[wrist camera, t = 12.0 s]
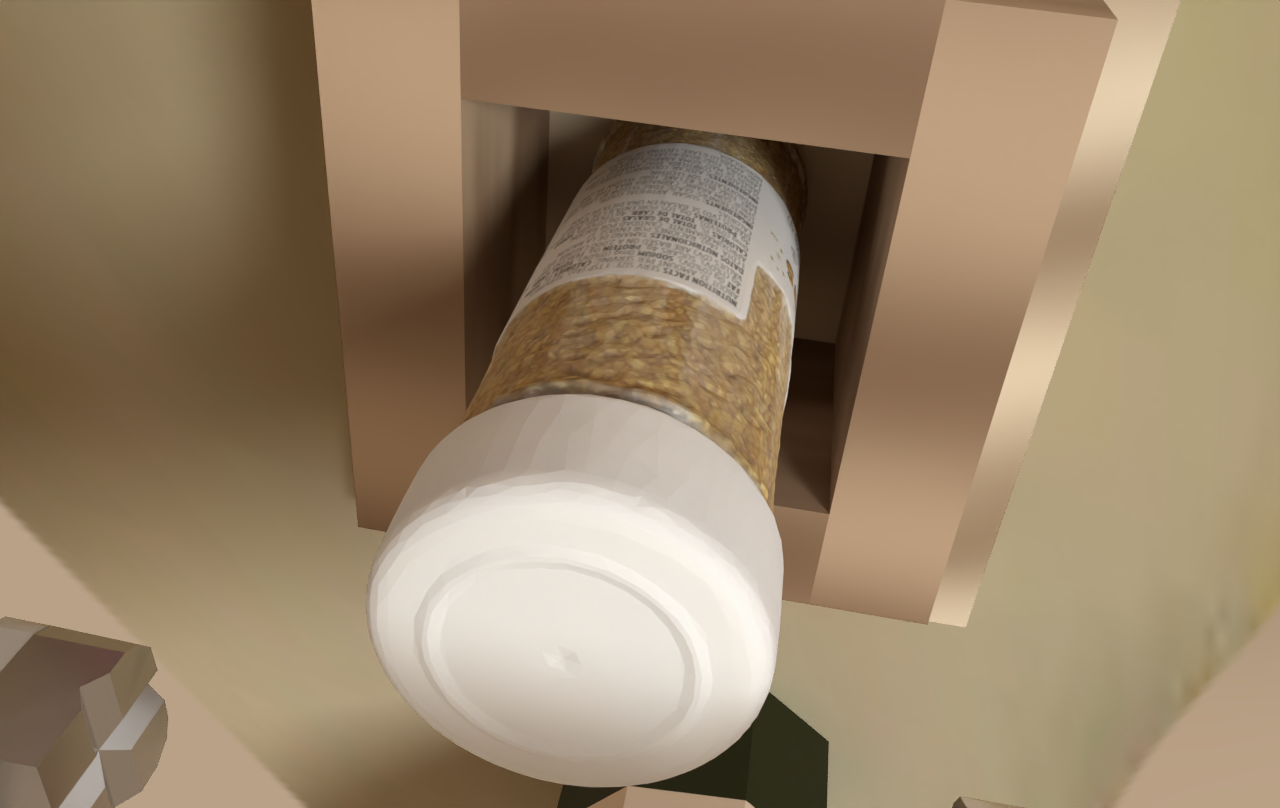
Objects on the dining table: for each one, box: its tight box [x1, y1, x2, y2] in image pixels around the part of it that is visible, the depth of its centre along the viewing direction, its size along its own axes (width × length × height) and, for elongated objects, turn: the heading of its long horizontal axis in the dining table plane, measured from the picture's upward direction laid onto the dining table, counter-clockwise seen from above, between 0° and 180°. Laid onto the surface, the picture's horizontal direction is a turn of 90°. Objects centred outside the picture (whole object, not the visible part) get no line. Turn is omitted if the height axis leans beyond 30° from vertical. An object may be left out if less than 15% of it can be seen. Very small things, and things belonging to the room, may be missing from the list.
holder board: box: [311, 0, 1181, 627], centre depth 21 cm, size 22×16×8 cm
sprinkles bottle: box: [366, 120, 808, 787], centre depth 17 cm, size 5×5×14 cm
